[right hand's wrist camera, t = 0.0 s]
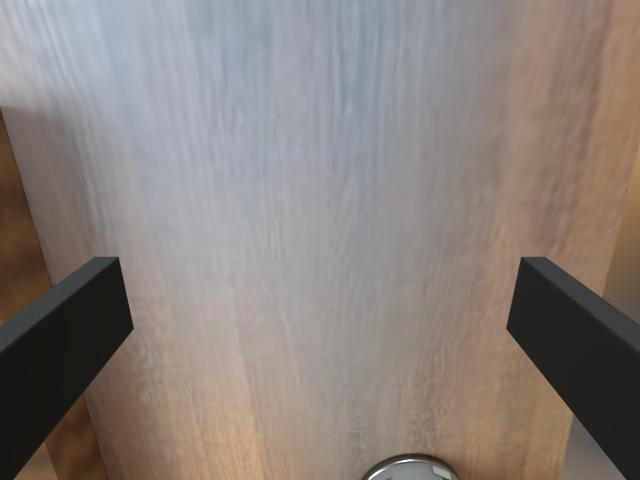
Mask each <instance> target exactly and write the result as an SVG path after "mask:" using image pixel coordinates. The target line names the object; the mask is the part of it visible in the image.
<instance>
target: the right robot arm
mask: <svg viewBox="0 0 640 480" xmlns="http://www.w3.org/2000/svg"><path fill="white" fill-rule="evenodd" d="M133 329H134V327H133V323H132V318H131V313H130V308H129V304H128V299H127V294H126V290H125V285H124V280H123V275H122V271H121V266H120V261H119V257H94V258H93V259H92V260H90V261H89V262H87V263H86V264H85V265H83V266H82V267H80V268H79V269H78V270H76V271H75V272H74V273H72V274H71V275H69V276H68V277H67V278H65V279H64V280H62V281H61V282H60V283H58V284H57V285H56V286H54V287H53V288H51V289H50V290H49V291H47V292H46V293H44V294H43V295H42V296H40V297H39V298H38V299H36V300H35V301H33V302H32V303H31V304H29V305H28V306H26V307H25V308H24V309H22V310H21V311H20V312H18V313H17V314H15V315H14V316H13V317H11V318H10V319H8V320H7V321H6V322H4V323H3V324H1V325H0V480H14V478H15V477H16V476H17V475H18V473H19V472H20V471H21V470H22V468H23V467H24V466H25V465H26V463H27V462H28V461H29V460H30V458H31V457H32V456H33V455H34V453H35V452H36V451H37V450H38V448H39V447H40V446H41V445H42V443H43V442H44V441H45V440H46V438H47V437H48V436H49V435H50V433H51V432H52V431H53V429H54V428H55V427H56V426H57V424H58V423H59V422H60V421H61V419H62V418H63V417H64V416H65V414H66V413H67V412H68V411H69V409H70V408H71V407H72V406H73V404H74V403H75V402H76V401H77V399H78V398H79V397H80V396H81V394H82V393H83V392H84V391H85V389H86V388H87V387H88V386H89V384H90V383H91V382H92V380H93V379H94V378H95V377H96V375H97V374H98V373H99V372H100V370H101V369H102V368H103V367H104V365H105V364H106V363H107V362H108V360H109V359H110V358H111V357H112V355H113V354H114V353H115V352H116V350H117V349H118V348H119V347H120V345H121V344H122V343H123V342H124V340H125V339H126V338H127V337H128V335H129V334H130V333H131V331H132V330H133ZM506 329H507V330H508V331H509V333H510V334H511V335H512V337H513V338H514V339H515V340H516V342H517V343H518V344H519V345H520V347H521V348H522V349H523V350H524V352H525V353H526V354H527V355H528V357H529V358H530V359H531V360H532V362H533V363H534V364H535V365H536V367H537V368H538V369H539V370H540V372H541V373H542V374H543V375H544V377H545V378H546V379H547V380H548V382H549V383H550V384H551V386H552V387H553V388H554V389H555V391H556V392H557V393H558V394H559V396H560V397H561V398H562V399H563V401H564V402H565V403H566V404H567V406H568V407H569V408H570V409H571V411H572V412H573V413H574V414H575V416H576V417H577V418H578V419H579V421H580V422H581V423H582V424H583V426H584V427H585V428H586V429H587V431H588V432H589V433H590V435H591V436H592V437H593V438H594V439H595V441H596V442H597V443H598V445H599V446H600V447H601V448H602V450H603V451H604V452H605V453H606V455H607V456H608V457H609V458H610V460H611V461H612V462H613V463H614V465H615V466H616V467H617V468H618V470H619V471H620V472H621V473H622V475H623V476H624V477H625V478H626V480H640V325H638V324H637V323H636V322H634V321H633V320H632V319H630V318H629V317H627V316H626V315H625V314H623V313H622V312H620V311H619V310H618V309H616V308H615V307H614V306H612V305H611V304H609V303H608V302H607V301H605V300H604V299H602V298H601V297H600V296H598V295H597V294H596V293H594V292H593V291H591V290H590V289H589V288H587V287H586V286H584V285H583V284H582V283H580V282H579V281H578V280H576V279H575V278H573V277H572V276H571V275H569V274H568V273H566V272H565V271H564V270H562V269H561V268H560V267H558V266H557V265H555V264H554V263H553V262H551V261H550V260H548V259H547V258H546V257H521V261H520V266H519V271H518V275H517V280H516V285H515V290H514V294H513V299H512V304H511V308H510V313H509V318H508V323H507V327H506ZM362 480H459V477H458V475H457V474H456V472H455V471H454V470H453V468H451V467H450V466H449V465H448V464H446V463H445V462H443V461H441V460H439V459H436V458H433V457H430V456H425V455H402V456H397V457H393V458H390V459H387V460H385V461H383V462H381V463H379V464H377V465H376V466H374V467H373V468H371V469H370V470H369V471H368V472H367V473H366V474H365V476H364V477H363V479H362Z"/></svg>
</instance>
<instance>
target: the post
mask: <svg viewBox="0 0 640 480" xmlns="http://www.w3.org/2000/svg"><path fill="white" fill-rule="evenodd" d="M51 288H52V286H51V283H50V279H49V276H48V272H47V269H46V265H45V262H44V259H43V255H42V252H41V248H40V245H39V241H38V238H37V234H36V231H35V228H34V224H33V221H32V217H31V214H30V210H29V207H28V204H27V200H26V197H25V193H24V190H23V186H22V183H21V179H20V176H19V173H18V169H17V166H16V162H15V159H14V155H13V152H12V149H11V145H10V142H9V138H8V135H7V131H6V128H5V124H4V121H3V118H2V114H1V111H0V325H1V324H3V323H4V322H6V321H7V320H8V319H10V318H11V317H13V316H14V315H15V314H17V313H18V312H20V311H21V310H22V309H24V308H25V307H26V306H28V305H29V304H31V303H32V302H33V301H35V300H36V299H38V298H39V297H40V296H42V295H43V294H44V293H46V292H47V291H49V290H50V289H51ZM16 478H17V480H108V479H107V475H106V472H105V468H104V465H103V461H102V458H101V455H100V451H99V448H98V444H97V441H96V437H95V434H94V431H93V427H92V424H91V420H90V417H89V413H88V410H87V406H86V403H85V400H84V396H83V393H82V394H81V396H80V397H79V398H78V399H77V401H76V402H75V403H74V404H73V406H72V407H71V408H70V409H69V411H68V412H67V413H66V414H65V416H64V417H63V418H62V419H61V421H60V422H59V423H58V424H57V426H56V427H55V428H54V429H53V431H52V432H51V433H50V435H49V436H48V437H47V438H46V440H45V441H44V442H43V443H42V445H41V446H40V447H39V448H38V450H37V451H36V452H35V453H34V455H33V456H32V457H31V458H30V460H29V461H28V462H27V463H26V465H25V466H24V467H23V468H22V470H21V471H20V472H19V473H18V475H17V476H16Z"/></svg>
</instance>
